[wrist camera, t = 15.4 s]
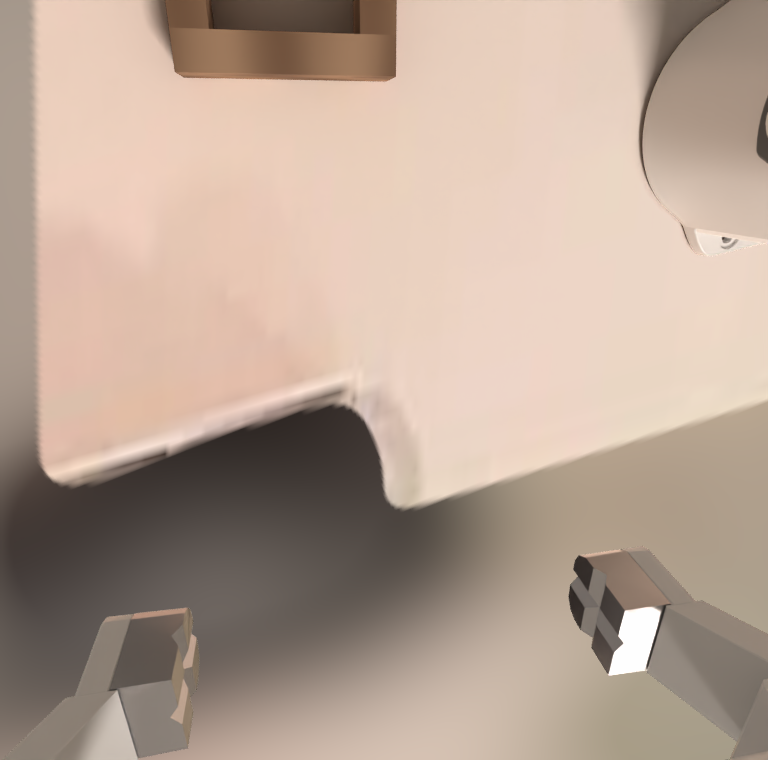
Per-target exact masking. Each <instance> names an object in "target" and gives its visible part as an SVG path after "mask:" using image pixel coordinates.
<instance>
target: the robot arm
mask: <svg viewBox="0 0 768 760" xmlns="http://www.w3.org/2000/svg"><path fill="white" fill-rule="evenodd" d="M642 146H643V160H644V166H645V171H646V175H647V178H648V181H649V184H650V186H651V188H652V190H653V192H654V194H655V196H656V197H657V199H658V200H659V201H660V203H661V204H662V205H663V206H664V207H665V208H666V209H667V210H668V211H669V212H670V213H671V214H672V215H673V216H675V217H676V218H677V219H678V220H679V221H680V223H681V224H682V225H683V227H684V231H685V234H686V236H687V239H688V242H689V244H690V246H691V248H692V250H693V251H694V252H695V253H696V254H698V255H703V256H716V255H720V254H724V253H728V252H732V251H736V250H740V249H744V248H748V247H752V246H756V245H760V244H768V0H730V1H729V2H728V3H726V4H725V5H724V6H723V7H721V8H720V9H718V10H717V11H715V12H714V13H713V14H711V15H710V16H708V17H707V18H706V19H704V20H703V21H702V22H701V23H699V24H698V25H697V26H696V27H695V28H694V29H693V30H692V31H691V32H690V33H689V34H688V35H687V36H686V37H685V38H684V40H683V41H682V42H681V43H680V44H679V45H678V47H677V48H676V50H675V51H674V52H673V54H672V55H671V57H670V58H669V60H668V61H667V63H666V65H665V66H664V68H663V70H662V72H661V74H660V76H659V78H658V80H657V82H656V84H655V87H654V89H653V92H652V95H651V98H650V101H649V104H648V108H647V111H646V116H645V121H644V128H643V143H642ZM722 237H725V238H724V239H723V240H722ZM573 569H574V571H575V572H576V574H577V575H578V577H577V578H576V579H575V580H574V581H573V582H572V583H571V584H570V591H569V602H570V609H571V612H572V614H573V617H574V620H575V621H576V623H577V625H578V626H579V628H580V630H582V631H583V632H585V633H586V634H588V635H589V636H591V637H593V639H592V649H593V651H594V653H595V654H596V656H597V658H598V659H599V661H600V662H601V664H602V666H603V667H604V669H605V670H606V672H607V673H608V675H615V674H623V673H630V672H635V671H636V672H637V671H643V670H647V673H648V674H650V675H651V676H652V677H654V678H655V679H656V680H657V681H659V682H660V683H661V684H663V685H664V686H665V687H666V688H668V689H669V690H670V691H672V692H673V693H674V694H676V695H677V696H678V697H679V698H681V699H682V700H683V701H685V702H686V703H687V704H689V705H690V706H691V707H693V708H694V709H695V710H696V711H698V712H699V713H700V714H702V715H703V716H704V717H706V718H707V719H708V720H710V721H711V722H712V723H713V724H715V725H716V726H717V727H719V728H720V729H721V730H723V731H724V732H725V733H726V734H728V735H729V736H730V737H732V738H733V739H734V740H736V741H737V743H736V745H735V748H734V750H733V752H732V755H731V757H730V759H727V760H768V634H767V633H765V632H763V631H761V630H759V629H757V628H755V627H753V626H751V625H749V624H747V623H745V622H743V621H741V620H739V619H738V618H735V617H734V616H732V615H730V614H728V613H726V612H724V611H722V610H720V609H718V608H716V607H714V606H712V605H710V604H708V603H706V602H704V601H695V600H694V599H693V598H692V597H691V596H690V595H689V594H688V592H687V591H686V590H685V589H684V588H683V587H682V586H681V585H680V584H679V582H678V581H677V580H676V579H675V578H674V577H673V576H672V575H671V574H670V572H669V571H668V570H667V569H666V568H665V567H664V566H663V565H662V564H661V562H660V561H659V560H658V559H657V558H656V557H655V556H654V555H653V554H652V553H651V552H650V550H649V549H647V548H645V547H643V546H640V547H633V548H626V549H621V550H612V551H605V552H598V553H592V554H584V555H579V556H578V557H577V558H576V560H575V563H574V568H573ZM192 626H193V618H192V614H191V610H190V609H189V608H181V609H172V610H162V611H153V612H145V613H135V614H130V615H122V616H112V617H107V618H106V619H105V620H104V622H103V623H102V624H101V626H100V629H99V632H98V635H97V637H96V640H95V643H94V646H93V648H92V651H91V654H90V656H89V659H88V662H87V664H86V667H85V670H84V672H83V675H82V678H81V681H80V683H79V686H78V689H77V691H76V694H75V696H74V697H69V698H66V699H64V700H63V701H62V702H61V703H60V704H59V705H58V706H57V707H56V708H55V709H54V710H53V711H52V712H51V713H50V714H49V715H48V716H47V717H46V718H45V719H44V720H43V721H42V722H41V723H40V724H38V725H37V727H35V728H34V729H33V730H32V731H31V732H30V733H29V734H28V735H27V736H26V737H25V738H24V739H23V740H22V741H21V742H20V743H19V744H18V745H17V746H16V747H15V748H14V749H13V750H12V751H11V752H10V753H9V754H8V755H7V756H6V757H5V758H4V759H3V760H138V758H142V757H147V756H152V755H157V754H162V753H167V752H171V751H177V750H181V749H186V748H188V744H189V737H190V731H191V724H192V718H193V709H192V705H191V699H190V697H191V696H192V695H193V694H194V692H195V691H196V690H197V684H198V677H199V649H198V643H197V638H196V637H195V636H193V635H192V634H191V632H192Z"/></svg>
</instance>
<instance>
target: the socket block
mask: <svg viewBox="0 0 768 760" xmlns="http://www.w3.org/2000/svg"><path fill="white" fill-rule="evenodd" d="M165 4H166V11H167V18H168V25H169V33H170V40H171V47H172V54H173V62H174V69H175V72H176V73H177V74H179V75H181V76H182V77H184V78H236V79H288V80H339V81H388V80H390V79H392V78H394V77H396V4H397V0H353V34H346V33H316V32H286V31H256V30H226V29H214V24H213V14H212V5H211V0H165Z"/></svg>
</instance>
